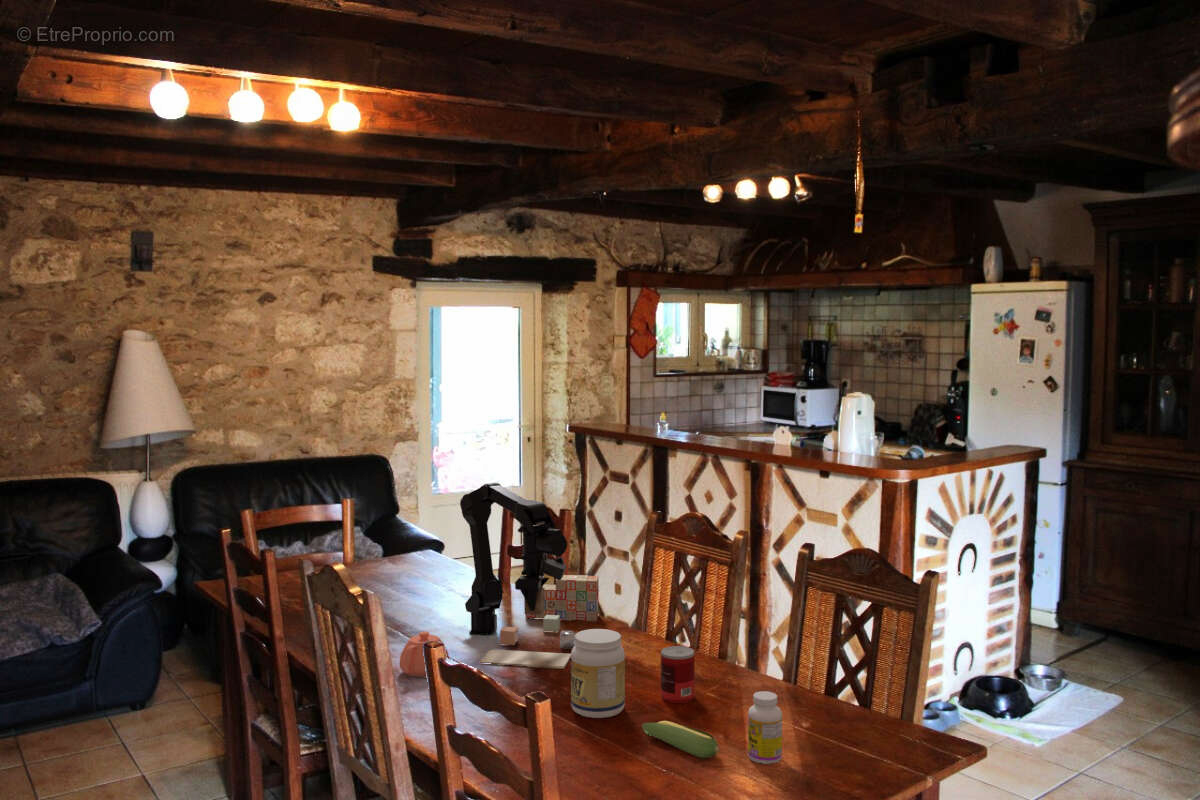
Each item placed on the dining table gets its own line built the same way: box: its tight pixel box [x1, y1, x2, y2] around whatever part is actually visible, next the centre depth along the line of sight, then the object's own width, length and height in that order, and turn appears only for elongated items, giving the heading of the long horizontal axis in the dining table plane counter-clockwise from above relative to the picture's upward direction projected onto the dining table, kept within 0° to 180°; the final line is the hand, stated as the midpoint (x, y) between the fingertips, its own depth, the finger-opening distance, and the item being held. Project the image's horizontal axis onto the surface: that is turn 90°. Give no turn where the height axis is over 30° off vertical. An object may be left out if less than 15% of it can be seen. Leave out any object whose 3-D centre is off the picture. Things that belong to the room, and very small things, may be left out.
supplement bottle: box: [747, 690, 783, 765], centre depth 194 cm, size 7×7×13 cm
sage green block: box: [542, 615, 561, 633], centre depth 279 cm, size 4×4×4 cm
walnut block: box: [523, 588, 545, 615], centre depth 261 cm, size 4×4×6 cm
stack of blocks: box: [525, 574, 600, 622], centre depth 292 cm, size 21×6×12 cm, turn 85°
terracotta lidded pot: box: [399, 631, 450, 679], centre depth 243 cm, size 12×14×10 cm
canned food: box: [660, 645, 695, 704], centre depth 227 cm, size 8×8×11 cm
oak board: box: [479, 649, 571, 670], centre depth 254 cm, size 22×10×1 cm, turn 80°
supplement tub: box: [570, 628, 626, 719], centre depth 220 cm, size 12×12×17 cm
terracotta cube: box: [499, 626, 519, 646], centre depth 268 cm, size 4×4×4 cm
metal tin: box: [559, 630, 576, 650], centre depth 264 cm, size 4×4×4 cm
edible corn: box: [641, 720, 720, 759], centre depth 201 cm, size 5×20×4 cm, turn 44°
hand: (534, 608), depth 262 cm, fingers closed on walnut block, 4 cm apart
